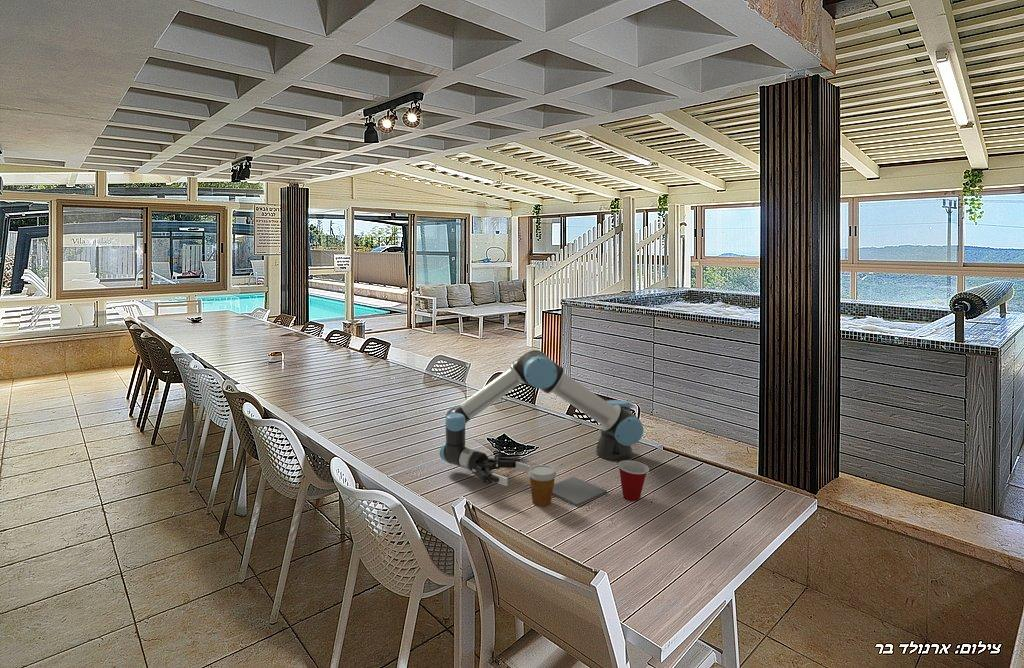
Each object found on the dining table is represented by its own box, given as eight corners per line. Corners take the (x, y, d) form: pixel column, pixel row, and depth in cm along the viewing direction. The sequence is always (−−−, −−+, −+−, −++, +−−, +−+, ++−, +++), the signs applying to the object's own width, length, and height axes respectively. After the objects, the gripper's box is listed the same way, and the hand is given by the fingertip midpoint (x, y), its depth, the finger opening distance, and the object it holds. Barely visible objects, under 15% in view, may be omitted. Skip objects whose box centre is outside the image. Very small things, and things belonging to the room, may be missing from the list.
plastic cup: (648, 506, 195) (650, 473, 193) (616, 503, 197) (617, 470, 195) (647, 492, 205) (649, 460, 203) (616, 489, 207) (618, 458, 205)
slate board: (573, 479, 216) (573, 476, 216) (606, 493, 204) (607, 490, 204) (543, 491, 205) (543, 488, 205) (577, 506, 194) (577, 504, 193)
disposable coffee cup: (524, 498, 199) (524, 466, 197) (549, 495, 202) (550, 463, 200) (533, 510, 190) (533, 477, 188) (559, 507, 193) (560, 473, 191)
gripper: (495, 460, 224) (539, 474, 211) (451, 480, 205) (496, 498, 192) (495, 442, 223) (539, 455, 210) (451, 461, 204) (496, 476, 191)
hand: (519, 475), depth 201 cm, fingers open, 13 cm apart
